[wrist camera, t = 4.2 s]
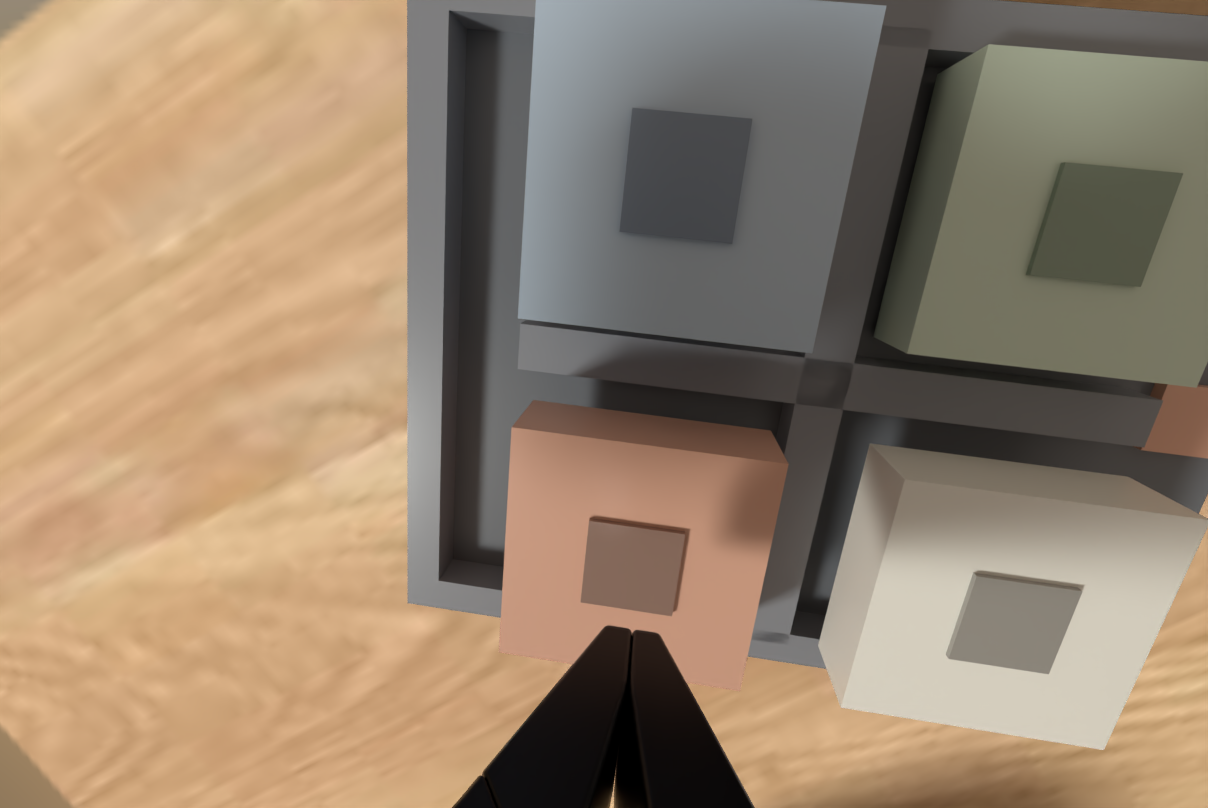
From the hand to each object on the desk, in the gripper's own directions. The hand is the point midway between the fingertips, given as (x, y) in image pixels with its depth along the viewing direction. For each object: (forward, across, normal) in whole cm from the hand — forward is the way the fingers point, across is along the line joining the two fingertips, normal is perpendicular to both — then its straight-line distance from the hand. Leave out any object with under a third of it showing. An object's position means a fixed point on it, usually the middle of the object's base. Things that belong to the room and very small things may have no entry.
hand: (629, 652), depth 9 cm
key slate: (+4, 0, -7) cm, 8 cm away
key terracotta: (+4, 0, 0) cm, 4 cm away
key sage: (+5, -7, -7) cm, 11 cm away
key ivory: (+4, -7, 0) cm, 8 cm away
